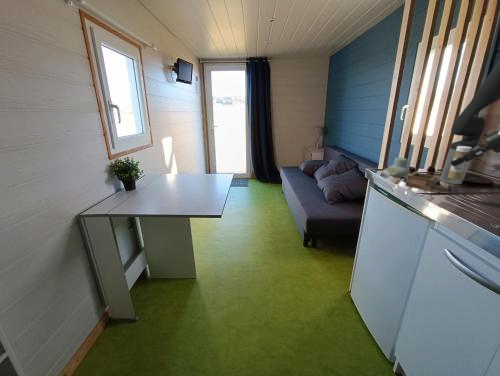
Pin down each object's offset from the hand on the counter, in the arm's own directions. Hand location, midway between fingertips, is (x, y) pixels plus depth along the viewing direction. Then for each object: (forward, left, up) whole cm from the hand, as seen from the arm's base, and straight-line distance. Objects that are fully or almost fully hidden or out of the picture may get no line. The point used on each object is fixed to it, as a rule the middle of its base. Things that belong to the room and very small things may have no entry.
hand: (452, 163), depth 96 cm
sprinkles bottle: (0, +2, -6) cm, 7 cm away
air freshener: (-19, -24, -15) cm, 34 cm away
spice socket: (-9, -9, -15) cm, 19 cm away
